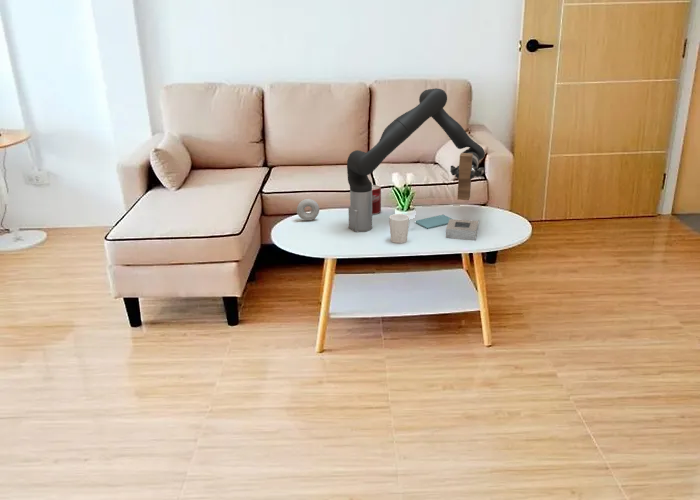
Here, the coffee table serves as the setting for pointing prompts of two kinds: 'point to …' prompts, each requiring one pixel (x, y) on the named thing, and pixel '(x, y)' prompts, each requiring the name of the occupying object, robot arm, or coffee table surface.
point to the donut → (310, 203)
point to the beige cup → (399, 227)
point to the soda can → (376, 199)
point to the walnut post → (464, 176)
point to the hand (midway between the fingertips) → (464, 176)
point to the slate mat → (433, 221)
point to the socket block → (462, 229)
